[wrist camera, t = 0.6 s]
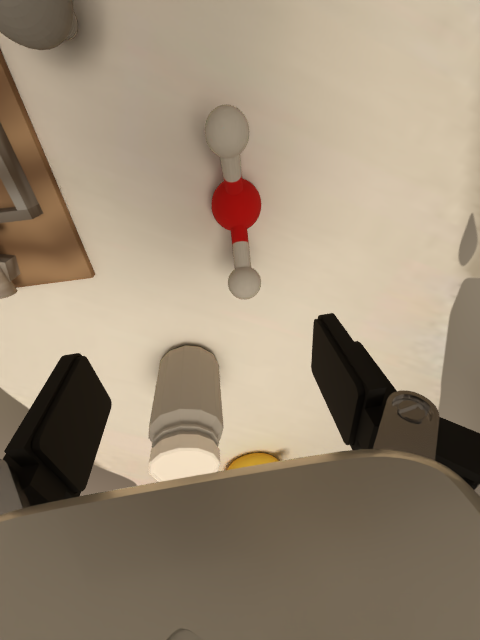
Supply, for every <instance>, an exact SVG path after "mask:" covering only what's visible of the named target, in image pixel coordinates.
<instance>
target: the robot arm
mask: <svg viewBox="0 0 480 640" xmlns="http://www.w3.org/2000/svg"><path fill="white" fill-rule="evenodd" d="M311 368H312V373H313V375H314V378H315V380H316V382H317V384H318V386H319V389H320V391H321V393H322V395H323V397H324V399H325V402H326V404H327V406H328V408H329V410H330V413H331V415H332V417H333V419H334V421H335V423H336V426H337V428H338V430H339V432H340V434H341V437H342V439H343V441H344V443H345V444H346V445H350V446H351V448H352V450H351V451H341V452H334V453H328V454H321V455H315V456H308V457H301V458H295V459H289V460H283V461H278V462H272V463H266V464H260V465H254V466H248V467H242V468H236V469H230V470H225V471H219V472H213V473H208V474H202V475H196V476H190V477H185V478H179V479H173V480H168V481H162V482H156V483H151V484H145V485H140V486H134V487H129V488H123V489H117V490H112V491H107V492H101V493H95V494H90V495H84V496H80V493H81V491H83V490H84V489H85V488H86V485H87V482H88V479H89V476H90V473H91V469H92V466H93V463H94V460H95V457H96V454H97V451H98V448H99V444H100V441H101V438H102V435H103V432H104V429H105V425H106V422H107V419H108V416H109V413H110V410H111V399H110V397H109V395H108V394H107V392H106V390H105V389H104V387H103V385H102V383H101V382H100V380H99V378H98V376H97V375H96V373H95V371H94V369H93V368H92V366H91V364H90V362H89V361H88V359H87V358H86V357H85V356H82V355H81V354H79V353H77V354H70V355H64V356H62V357H61V358H60V360H59V362H58V363H57V365H56V367H55V368H54V370H53V372H52V373H51V375H50V377H49V378H48V380H47V382H46V383H45V385H44V387H43V388H42V390H41V391H40V393H39V395H38V396H37V398H36V400H35V401H34V403H33V405H32V406H31V408H30V410H29V411H28V413H27V415H26V416H25V418H24V420H23V421H22V423H21V425H20V426H19V428H18V430H17V431H16V433H15V434H14V436H13V438H12V439H11V441H10V443H9V444H8V446H7V448H6V449H5V453H6V455H5V456H4V458H3V460H2V459H0V640H480V433H477V432H475V431H473V430H470V429H467V428H465V427H462V426H460V425H458V424H455V423H453V422H451V421H448V420H446V419H443V418H441V417H439V412H438V410H437V408H436V406H435V405H434V404H433V403H432V402H431V401H430V400H429V399H427V398H426V397H424V396H422V395H420V394H418V393H415V392H411V391H396V389H395V388H394V387H393V385H392V384H391V383H390V381H389V380H388V379H387V377H386V376H385V375H384V373H383V372H382V371H381V369H380V368H379V367H378V365H377V364H376V363H375V361H374V360H373V359H372V357H371V356H370V355H369V353H368V352H367V351H366V349H365V348H364V347H363V345H362V344H361V343H360V342H358V341H356V342H354V341H353V340H352V338H351V337H350V335H349V334H348V333H347V331H346V330H345V328H344V327H343V326H342V324H341V323H340V322H339V320H338V319H337V317H336V316H335V315H334V314H333V313H331V314H324V315H319V316H318V319H315V320H314V328H313V345H312V363H311Z"/></svg>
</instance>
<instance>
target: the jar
mask: <svg viewBox="0 0 480 640" xmlns="http://www.w3.org/2000/svg"><path fill="white" fill-rule="evenodd" d="M222 431H223V416H222V403H221V390H220V377H219V365H218V363H217V361H216V359H215V357H214V355H213V354H212V353H210V352H208V351H206V350H205V349H203V348H201V347H199V346H187V345H185V346H182V347H179V348H176V349H173V350H170V351H169V352H168V353H167V354H166V355H165V356H164V357H163V358H162V359H161V360H160V366H159V372H158V378H157V384H156V389H155V395H154V401H153V407H152V413H151V418H150V424H149V439H150V441H151V442H152V449H151V454H150V460H149V474H150V475H151V476H152V477H153V478H154V479H155V480H156V481H157V482H162V481H168V480H173V479H179V478H185V477H190V476H196V475H202V474H208V473H213V472H218V469H219V466H220V450H219V448H218V445H219V440H220V438H221V435H222Z"/></svg>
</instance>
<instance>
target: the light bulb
mask: <svg viewBox="0 0 480 640" xmlns="http://www.w3.org/2000/svg"><path fill="white" fill-rule="evenodd" d="M77 29H78V23H77V18H76V15H75V13H74V11H73V4H72V0H0V32H1V33H2V34H4V35H5V36H6V37H8V38H9V39H11V40H13V41H14V42H16V43H18V44H20V45H23V46H25V47H28V48H32V49H38V50H46V49H51V48H54V47H57V46H58V45H60V44H61V43H62V42H63V41H64V40H71V39H73V38H74V37H75V35H76V33H77Z"/></svg>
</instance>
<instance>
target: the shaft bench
mask: <svg viewBox="0 0 480 640" xmlns="http://www.w3.org/2000/svg"><path fill="white" fill-rule="evenodd" d="M94 275H95V273H94V270H93V268H92V266H91V263H90V261H89V259H88V256H87V254H86V251H85V249H84V247H83V244H82V242H81V240H80V237H79V235H78V233H77V230H76V228H75V225H74V223H73V221H72V218H71V216H70V214H69V211H68V209H67V206H66V204H65V202H64V199H63V197H62V195H61V192H60V190H59V187H58V185H57V183H56V180H55V178H54V176H53V173H52V171H51V169H50V166H49V164H48V161H47V159H46V157H45V154H44V152H43V150H42V147H41V145H40V142H39V140H38V138H37V135H36V133H35V131H34V128H33V126H32V123H31V121H30V119H29V116H28V114H27V112H26V109H25V107H24V104H23V102H22V100H21V97H20V95H19V93H18V90H17V88H16V86H15V83H14V81H13V78H12V76H11V74H10V71H9V69H8V67H7V64H6V62H5V59H4V57H3V55H2V52H1V50H0V299H1V298H6V297H9V296H11V295H13V294H15V293H16V292H17V289H16V288H17V287H25V286H32V285H40V284H48V283H55V282H63V281H71V280H78V279H86V278H93V277H94Z"/></svg>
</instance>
